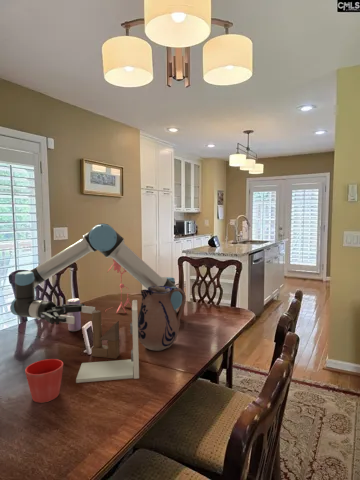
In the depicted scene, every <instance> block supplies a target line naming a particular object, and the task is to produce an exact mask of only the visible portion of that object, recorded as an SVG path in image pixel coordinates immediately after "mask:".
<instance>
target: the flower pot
mask: <svg viewBox="0 0 360 480" xmlns="http://www.w3.org/2000/svg"><path fill="white" fill-rule="evenodd" d="M63 371H64V362H63V361H62V360H60V359H58V358H49V359H48V358H47V359H41V360H38V361H35V362H33V363H31V364H29V365H27V366H26V367H25V370H24V373H25V377H26V380H27V385H28V389H29V392H30V395H31V397H32V401H33V402H35V403H38V404H39V403H42V404H43V403H48V402H50V401H53V400H55V399H56V398H58V396H60V390H61V386H62V380H63V379H62V378H63Z"/></svg>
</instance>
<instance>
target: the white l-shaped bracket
mask: <svg viewBox="0 0 360 480" xmlns="http://www.w3.org/2000/svg"><path fill="white" fill-rule="evenodd" d="M131 306H132V308H131V320H132V321H131V322H130V325H129V326H130V327H129V328H130V335H132V349H131V350H130V359H119V360H116V359H115V360H108V361H107V360H105V361H93V362H92V361H90V362H82V363H81V365H80V367H79V370H78V373H77V375H76V379H75V383H76V384H80V383H90V382H91V383H93V382H100V381H102V382H103V381H112V380H116V381H117V380H127V379H135V380H136V379H140V362H139V359H140V358H139V356H140V355H139V339H138V317H139V314H138V300H137V299H133V300H132V301H131Z"/></svg>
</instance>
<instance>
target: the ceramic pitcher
mask: <svg viewBox="0 0 360 480" xmlns="http://www.w3.org/2000/svg"><path fill="white" fill-rule="evenodd" d="M176 291H178V292H180V293H181V295H182V303H181V305H180V307H179V308H178V310H177V313H176V312H175V310H174V308H173V305H172V303H171V296H172V293H173V292H176ZM140 293H141V305H140V308H139V314H138V342H139V343H140V344H141V345H142V346H143V347H144V348H146V349H148V350H150V351H157V352H159V351H163V350H166V349H169V348H170V347H171V346H172V345H173V344H174V343H175V341H176V340H177V338H178V335H179V330H180V329H179V328H180V327H181V316H182V314H183V311H184V309H185V306H186V300H187V296H186V292H185V291H184V289H182V288H180V287H177V288H171V287H167V286H151V287H148V289H146V288H145V289H141V290H140Z"/></svg>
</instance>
